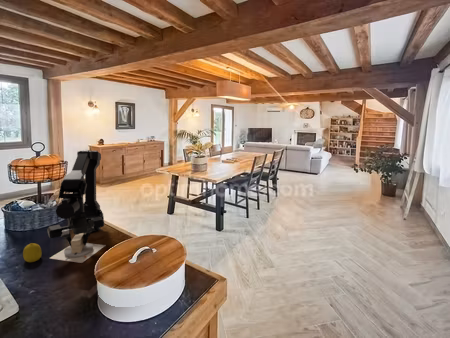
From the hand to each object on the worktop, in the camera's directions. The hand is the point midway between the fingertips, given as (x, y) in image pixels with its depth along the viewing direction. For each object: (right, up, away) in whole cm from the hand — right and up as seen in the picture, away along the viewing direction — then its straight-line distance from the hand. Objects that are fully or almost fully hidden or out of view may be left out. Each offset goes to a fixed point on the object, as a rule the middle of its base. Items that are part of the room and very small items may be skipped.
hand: (78, 246), depth 102 cm
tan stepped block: (0, -2, +1) cm, 2 cm away
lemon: (-14, -5, -6) cm, 16 cm away
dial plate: (0, -3, +1) cm, 4 cm away
